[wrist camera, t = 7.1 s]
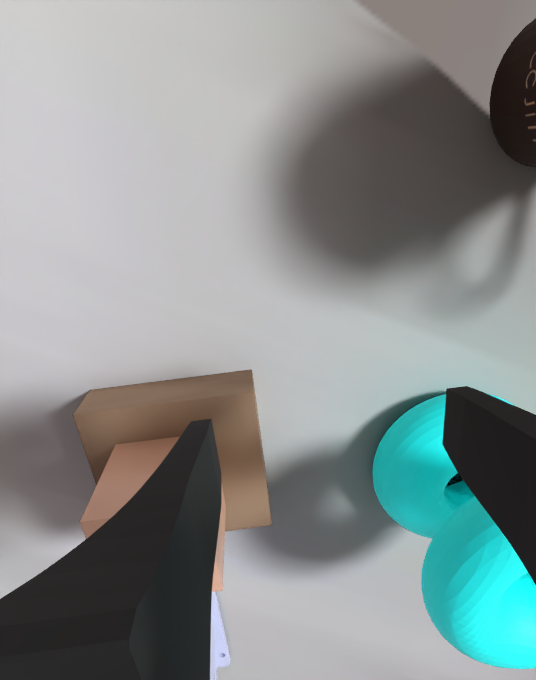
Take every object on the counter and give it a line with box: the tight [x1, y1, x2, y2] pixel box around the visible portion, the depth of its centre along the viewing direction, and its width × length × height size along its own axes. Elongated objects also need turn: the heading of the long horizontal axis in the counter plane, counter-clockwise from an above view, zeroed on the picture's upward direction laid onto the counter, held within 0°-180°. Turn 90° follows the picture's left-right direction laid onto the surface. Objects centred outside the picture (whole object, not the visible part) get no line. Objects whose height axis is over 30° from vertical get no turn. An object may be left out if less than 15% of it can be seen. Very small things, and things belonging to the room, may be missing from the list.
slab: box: [73, 370, 272, 531], centre depth 23 cm, size 9×9×3 cm
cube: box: [80, 437, 226, 592], centre depth 19 cm, size 5×5×5 cm
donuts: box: [372, 394, 536, 669], centre depth 21 cm, size 10×10×10 cm
